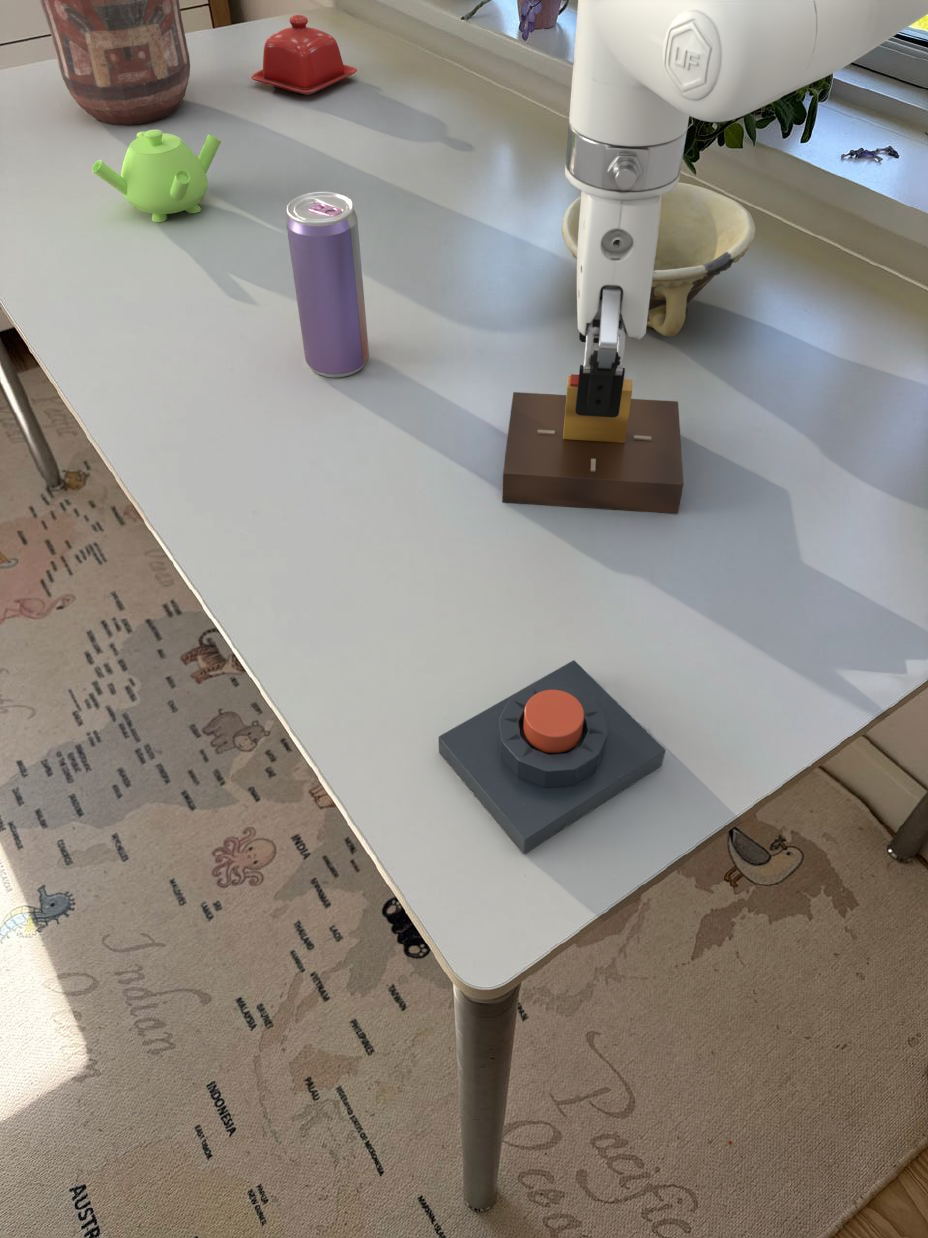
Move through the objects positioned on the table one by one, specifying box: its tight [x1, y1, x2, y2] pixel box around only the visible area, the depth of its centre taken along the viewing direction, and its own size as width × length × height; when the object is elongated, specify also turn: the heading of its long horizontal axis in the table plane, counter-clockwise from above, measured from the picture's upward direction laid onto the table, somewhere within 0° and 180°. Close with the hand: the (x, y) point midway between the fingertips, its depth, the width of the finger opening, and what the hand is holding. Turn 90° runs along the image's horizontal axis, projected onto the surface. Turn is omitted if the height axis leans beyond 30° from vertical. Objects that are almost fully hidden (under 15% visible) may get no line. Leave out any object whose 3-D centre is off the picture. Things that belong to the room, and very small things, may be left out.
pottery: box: [39, 0, 191, 126], centre depth 130 cm, size 18×18×18 cm
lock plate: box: [501, 391, 684, 514], centre depth 83 cm, size 14×11×3 cm
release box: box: [437, 659, 666, 855], centre depth 63 cm, size 11×9×4 cm
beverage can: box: [285, 191, 370, 379], centre depth 89 cm, size 6×6×15 cm
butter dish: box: [250, 14, 358, 96], centre depth 139 cm, size 12×12×8 cm
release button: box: [523, 690, 584, 753], centre depth 61 cm, size 4×4×2 cm
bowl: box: [561, 181, 756, 337], centre depth 97 cm, size 18×18×10 cm
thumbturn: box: [563, 373, 633, 443], centre depth 80 cm, size 5×2×5 cm, turn 84°
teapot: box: [91, 129, 222, 223], centre depth 113 cm, size 11×12×8 cm
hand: (597, 376), depth 78 cm, fingers open, 9 cm apart
